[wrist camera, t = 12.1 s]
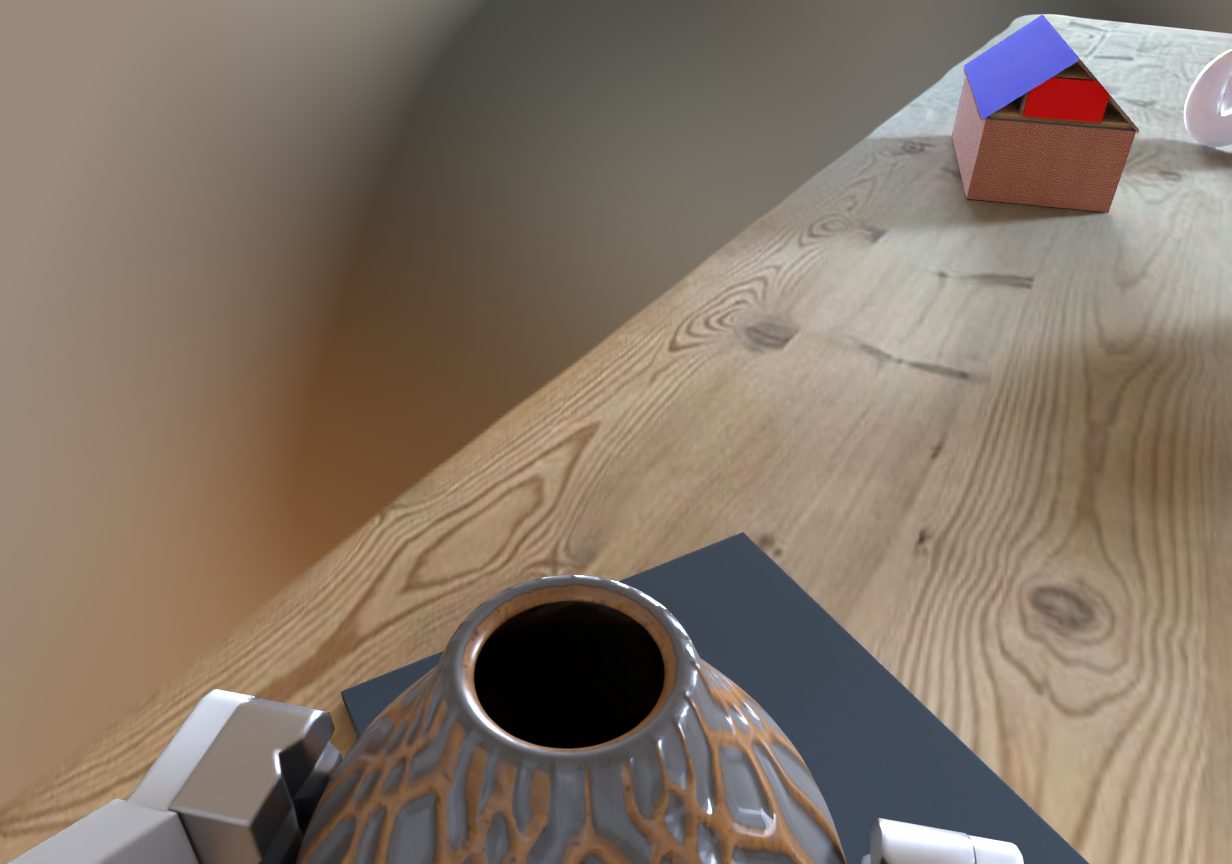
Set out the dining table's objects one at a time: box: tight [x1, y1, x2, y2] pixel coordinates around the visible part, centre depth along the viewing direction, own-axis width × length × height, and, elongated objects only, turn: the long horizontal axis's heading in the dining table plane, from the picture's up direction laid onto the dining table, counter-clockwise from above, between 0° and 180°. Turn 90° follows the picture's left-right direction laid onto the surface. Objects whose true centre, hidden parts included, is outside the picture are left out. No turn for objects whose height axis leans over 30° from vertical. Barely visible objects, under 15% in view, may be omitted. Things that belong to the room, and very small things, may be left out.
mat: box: [341, 532, 1089, 864], centre depth 30 cm, size 18×18×1 cm
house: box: [952, 15, 1139, 212], centre depth 80 cm, size 12×20×12 cm, turn 166°
